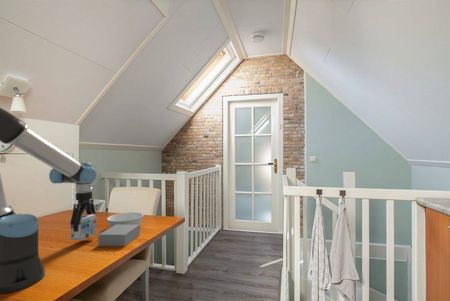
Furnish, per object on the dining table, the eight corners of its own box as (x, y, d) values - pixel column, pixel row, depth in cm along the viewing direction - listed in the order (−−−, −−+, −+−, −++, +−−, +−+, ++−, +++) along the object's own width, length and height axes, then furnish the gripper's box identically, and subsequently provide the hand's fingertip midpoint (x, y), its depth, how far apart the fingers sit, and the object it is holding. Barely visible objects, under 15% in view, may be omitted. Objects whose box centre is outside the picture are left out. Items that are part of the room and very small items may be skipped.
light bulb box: (81, 241, 116) (81, 219, 117) (70, 240, 118) (70, 218, 118) (97, 233, 127) (97, 214, 127) (86, 233, 128) (86, 213, 128)
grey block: (125, 246, 115) (125, 234, 115) (98, 246, 117) (98, 234, 117) (139, 235, 131) (139, 224, 131) (116, 235, 133) (115, 224, 133)
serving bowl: (127, 234, 133) (127, 222, 133) (99, 231, 139) (98, 219, 140) (150, 223, 152) (150, 212, 152) (124, 221, 159) (124, 211, 159)
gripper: (77, 195, 111) (77, 241, 111) (102, 188, 135) (102, 226, 134) (61, 195, 111) (61, 242, 110) (89, 188, 135) (89, 226, 134)
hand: (84, 233), depth 122 cm, fingers closed on light bulb box, 11 cm apart
